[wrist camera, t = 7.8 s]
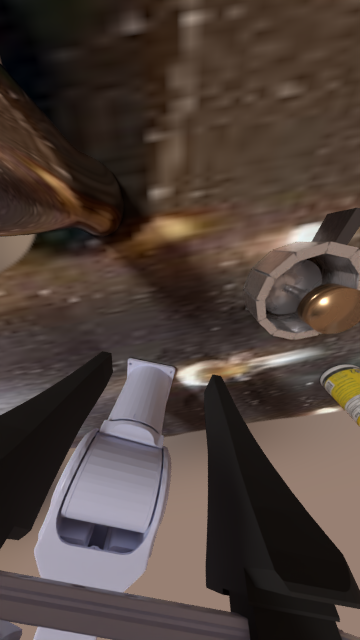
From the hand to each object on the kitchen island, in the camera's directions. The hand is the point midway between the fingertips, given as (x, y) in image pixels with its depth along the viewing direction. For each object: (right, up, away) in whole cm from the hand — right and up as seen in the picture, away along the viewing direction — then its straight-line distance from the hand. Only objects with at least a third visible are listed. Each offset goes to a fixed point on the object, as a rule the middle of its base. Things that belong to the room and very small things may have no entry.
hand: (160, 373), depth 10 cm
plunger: (+14, +7, +6) cm, 17 cm away
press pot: (+14, +9, +6) cm, 17 cm away
